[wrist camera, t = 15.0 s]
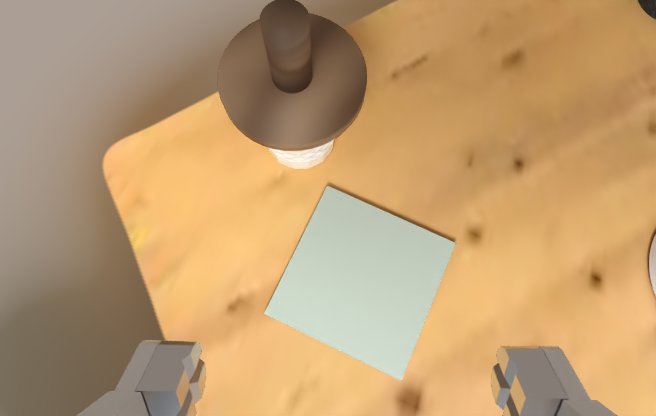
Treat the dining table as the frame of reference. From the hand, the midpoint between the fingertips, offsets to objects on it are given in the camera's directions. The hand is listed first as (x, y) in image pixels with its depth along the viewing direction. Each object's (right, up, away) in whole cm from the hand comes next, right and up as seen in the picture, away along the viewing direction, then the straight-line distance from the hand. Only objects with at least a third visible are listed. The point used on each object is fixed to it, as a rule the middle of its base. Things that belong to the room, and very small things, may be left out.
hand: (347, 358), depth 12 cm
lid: (-3, +14, +21) cm, 25 cm away
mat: (+2, -2, +27) cm, 27 cm away
